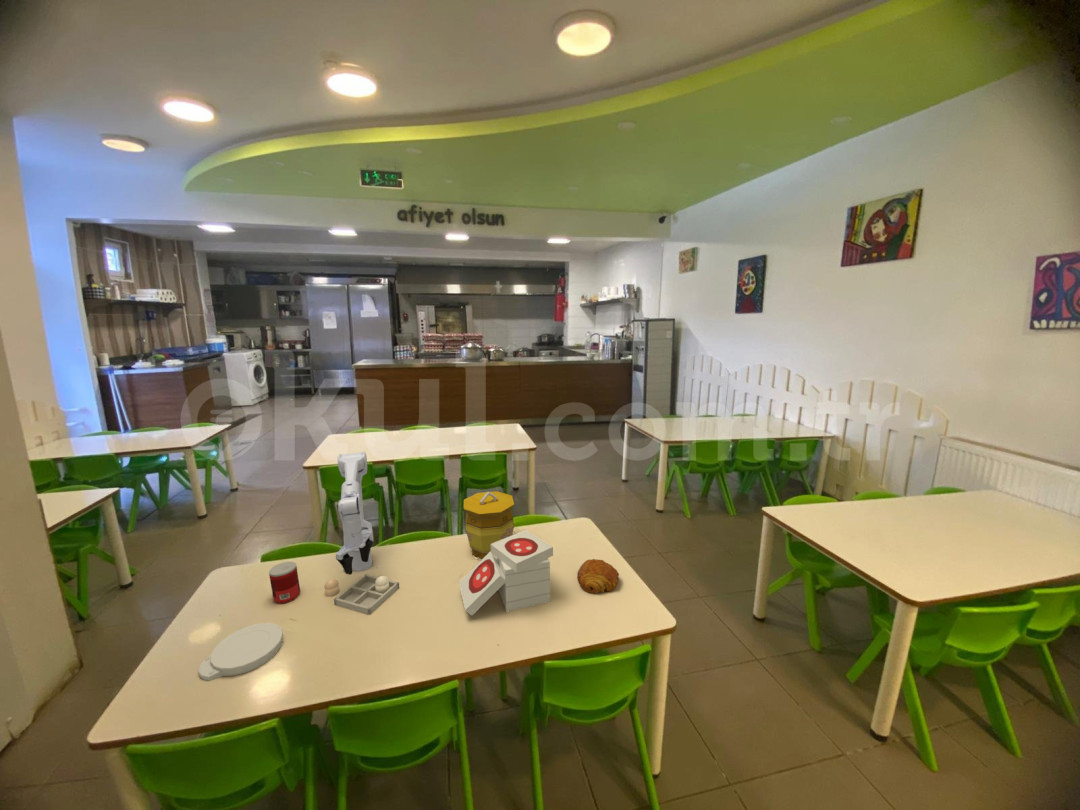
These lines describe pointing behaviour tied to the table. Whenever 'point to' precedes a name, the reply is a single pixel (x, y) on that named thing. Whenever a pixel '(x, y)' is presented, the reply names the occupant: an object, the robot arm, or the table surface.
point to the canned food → (284, 582)
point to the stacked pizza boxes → (510, 574)
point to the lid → (242, 651)
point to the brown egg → (331, 587)
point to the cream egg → (382, 584)
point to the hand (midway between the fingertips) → (357, 567)
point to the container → (488, 520)
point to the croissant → (597, 576)
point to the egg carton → (364, 595)
